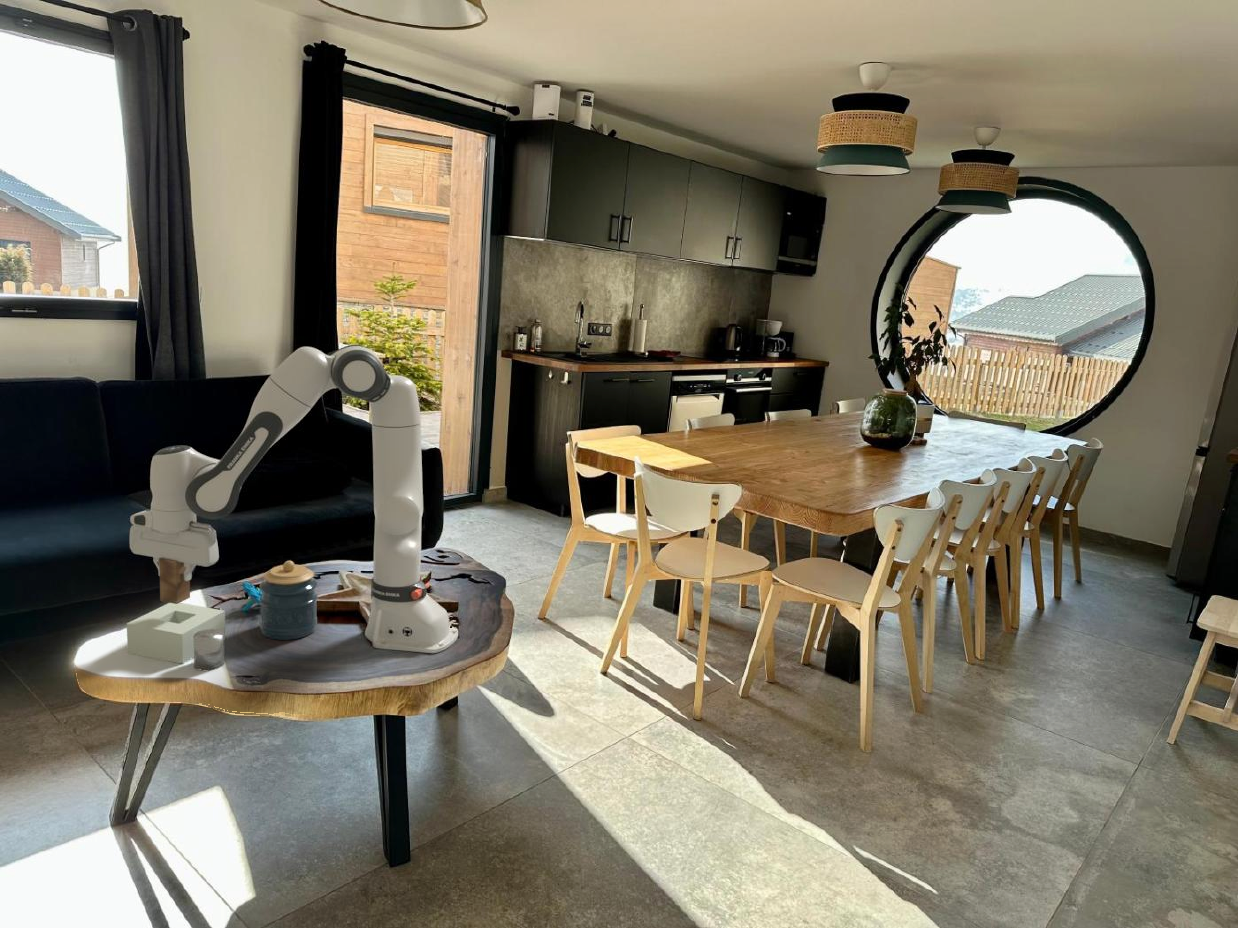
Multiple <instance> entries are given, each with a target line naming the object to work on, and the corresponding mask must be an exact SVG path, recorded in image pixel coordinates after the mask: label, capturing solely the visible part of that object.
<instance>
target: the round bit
mask: <svg viewBox="0 0 1238 928" xmlns="http://www.w3.org/2000/svg"><path fill="white" fill-rule="evenodd" d="M193 641H194V658H193V667H194V666H195V667H194V668H195V669H196V668H197V669H196V670H198V669H201V670H200V671H203V670H208V671H214V670H218V669H220V668H221V667H223V666H224V665H225V639H224V632H223V631H221V630H218V629H206V630H202V631H199V632H197V633H195V634H194V636H193Z"/></svg>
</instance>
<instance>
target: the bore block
mask: <svg viewBox="0 0 1238 928" xmlns="http://www.w3.org/2000/svg"><path fill="white" fill-rule="evenodd" d="M206 629H218V630H221V631H223V632H224V640H225V639H226V611H225V610H222V609H216V608H211V607H206V606H201V605H194V604H189V603H184V602H180V603H178V604H174V603H169V602H167V603H166V604H163V605H162V606H160V607H158V608H156V609H154V610H152V611H150V612H148V613H145V614H143V615H141V616H139V617H138V618H136V619H134V620H131V621H129V622H127V623H126V639H127V641H126V642H127V643H126V644H127V653H128V654H131V655H135V656H136V655H137V656H141V657H147V658H151V659H156V660H162V661H167V662H172V663H177V664H181V663H182V664H181V665H183V664H185V662H186V663H187V662H188V661H190V659H191V658H192V659H194V641H193V636H194V634H195V633H197V632H199V631H202V630H206ZM192 659H191V660H192Z"/></svg>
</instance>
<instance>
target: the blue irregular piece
mask: <svg viewBox="0 0 1238 928" xmlns="http://www.w3.org/2000/svg"><path fill="white" fill-rule="evenodd" d="M241 587H243V588H242V590H244V592H246V593H247V595H248V597H250V598H249V599H248V600H247V601H245V606H244V607H243V608H242V609H241V611H243V612H244V613H246V612H247V611H248V610H249V609H251V607H252V606H253V605H254V604H258V605H259V604H261V602H260V597H261V595H262V590H261V589H260V587H258V586H257V587H256V586H254V585H253V584H252V583H251V584H250V583H249V582H247V581H245V582H243V583H242V584H241Z"/></svg>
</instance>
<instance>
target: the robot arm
mask: <svg viewBox="0 0 1238 928" xmlns="http://www.w3.org/2000/svg"><path fill="white" fill-rule="evenodd" d="M332 389H339V391H340V392H342V393H343V394H344V395H346V396H348V397H350V398H353V399H356V400H362V401H364V402H365V401H366V402H368V403H369V404H370V409H371V428H372V429H371V432H372V433H371V435H372V436H371V437H372V465H373V466H372V470H373V511H374V517H375V518H374V539H373V540H374V541H373V567H372V568H373V570H372V571H373V572H372V573H373V574H372V575H373V577H372V578H371V582H370V584H371V585H370V599H371V605H370V606H371V607H370V613H369V618H368V622H367V626H366V629H365V631H364V635H365V637H366V639H368V640H369V641H370V642H371V644H372V647H373V648H375V649H381V650H383V649H384V650H394V651H406V652H416V653H417V652H418V653H427V654H428V653H429V654H436V653H440V652H443V651H445V650H447V649H448V648H450V647H451V646H452V645H453V644H454V643H455V642H456V641H457V640H458V637H459V630H458V628H457V627H456V626H455V627H454V626H452V628H450V618H449V613H448V612H447V610H446V609H445V608H444V607H443V606H441V604H439V603H438V602H437V601H436V600H434V599H433V598H432V597H431V596H430V595H428V594H427V589H428V588H429V587H430V581H428V582H426V583H424V582H423V580H422V578H421V562H422V561H421V559H422V517H423V513H424V494H423V491H424V490H423V466H422V465H423V464H422V462H423V461H422V460H423V459H422V458H423V456H422V429H421V428H422V425H421V424H422V423H421V421H422V420H421V419H422V418H421V406H420V401H419V396H418V392H417V391H418V390H417V387H416V385H415V382H413V380H412V379H410V378H408V377H406V376H403V375H400V374H399V375H397V374H393V375H392V374H390V373H388V372H387V370H386V369H385V367H384V366H383V363H382V362H381V360H380V358H379V356H378V355H377V354H376V353H375V352H374V351H373V350H372V349H370V348H368V347H366V346H364V345H361V344H351V345H345V346H343V347H341V348H338V349H336V350H333V351H330V352H328V353H327V354H326V353H324V352H323V351H322V350H319V349H317V348H315V347H312V346H301V347H299V348H297V349H296V350H294V352H292V353H291V354H290V355H289V356H287V358H285V359H284V360H283V361H282V362H281V363H280V364H279V365H278V366H277V367H276V368H275V370H274V371H273V372H272V373H270V375H269V376H268V378H267V379H266V380H265V382H264V384H263V385H262V386H261V388H260V390H259V391H258V393H257V395H256V396H255V398H254V401H253V403H252V406H251V408H250V412H249V415H248V418H247V420H246V423H245V425H244V428H243V429H242V431H241V433H240V434H239V436H238V437H237V438H236V439H235V441H234V443H233V444H232V445H231V446H230V448H229V449H228V450H227V452H225V454H224V455H223V456H222V458H221V459H217V458H214V457H210V456H207V455H205V454H202V452H201V453H200V452H198V451H197V450H196V449H194V448H193V447H191V446H189V445H173V446H172V445H171V446H168V447H167V446H166V447H165V448H162V449H160V450H157V452H156V453H154V455H153V456H152V460H151V463H150V473H149V474H150V476H149V480H150V481H149V483H150V485H149V487H150V491H151V494H152V499H151V503H150V509H149V508H148V509H146V510H142V511H139V512H137V513H134V514H132V515H130V523H131V527H130V528H129V529H130V530H129V549H130V550H131V552H132V553H133V554H135V555H140V556H146V557H151V558H153V563H154V565H155V566H156V569H157V571H158V576H159V577H160V562H159V558H165V559H170V560H175V561H178V562H183V563H184V567H187V568H186V570H185V571H184V572H182V573H180V576H181V578H180V579H181V580H184V581H189V580H190V581H191V580H192V577H193V575H192V572H193V571H194V569H195V568H196V566H199V567H200V566H201V567H210V566H213V565H215V564H216V563H217V562H218V561H219V558H220V556H219V555H220V554H219V552H220V551H219V546H218V539H217V531H216V530H215V529H214V528H213V527H212V526H211V524H207V523H201V522H197V517H199V518H203V519H206V520H219V519H222V518H224V517H225V518H226V517H227V516H229V515H230V514H231V513H233V511H234V510H235V508H236V507H237V504H238V501H239V497H240V492H241V489H242V486H243V484H244V483H245V481H246V479H247V478H248V477H249V475H250V474H251V472H252V471H253V470H254V469H255V467H256V466H257V465H258V464H259V462H261V459H263V457H264V456H265V455H266V453H267V452H268V451H269V449H270V448H272V446H274V445H275V443H277V442H278V441H279V440H280V439H282V438H283V437H284V436H285V435H286V434H287V433H288V432H289V431H290V430H291V429H293V428H294V427H295V426H296V425H297V424H298V423H300V421H301V420H303V418H304V417H306V415H307V414H308V413H309V412H310V411H311V409H312V408H313V407H314V406H315V405H316V403H317V402H318V400H319V399H320V398H321V397H322V396H323V395H324V394H325V393H326V392H328V391H330V390H332Z"/></svg>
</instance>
